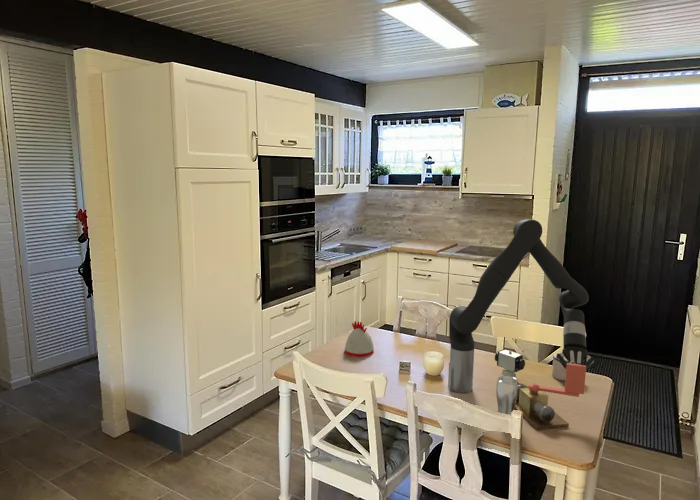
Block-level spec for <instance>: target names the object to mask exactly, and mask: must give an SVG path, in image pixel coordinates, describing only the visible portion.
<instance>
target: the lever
mask: <svg viewBox="0 0 700 500" xmlns="http://www.w3.org/2000/svg"><path fill="white" fill-rule="evenodd" d="M586 372H587V369H586V366H585V365H584V364H581V365H578V364H576V363H575V364H570V363H567V367H566V379H565V381H564V389H563V388H557V387H553V386H545V385H539V384H538V383H537V384H536V383H529V384H528V388H529V390H530V391H533V392H538V391H543V392H544V393H545V392H546V393H551V394H558V395H565V396H569V397H570V396H572V397H576V398H580V395H585V387H586V386H585V384H586V374H587V373H586Z"/></svg>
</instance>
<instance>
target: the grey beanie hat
mask: <svg viewBox="0 0 700 500" xmlns="http://www.w3.org/2000/svg"><path fill="white" fill-rule="evenodd" d="M351 326H352V327H353V328H352V329H353V330H352V331H351V332H350V333H349V335H348V336H347V339H346V342H345V346H344V353H345V354H346V355H347V356H349V357H354V358H365V357H370V356H372V355H373V354H374V352H375V351H374V342H373V340H372V336H371V335H370V334H369V332H368V331H367V329H368V328H367V327H365V324H363V322H362V321H356V320H355V321H354V322H352V323H351Z"/></svg>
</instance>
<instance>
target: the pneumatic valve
mask: <svg viewBox="0 0 700 500" xmlns="http://www.w3.org/2000/svg"><path fill="white" fill-rule="evenodd" d="M494 360H495V362H496V366H497V367H499V368H503V370H502V371H501V376H510V377H513V378H515V379H516V376H517V374H516V373H517V372H520V371H523V370H524V369H525V365H526V361H525V359H524V357H523V355H522V354H521V353H520V354H519V353H517V352H514V351H512V350H507V349H501V350H499V351H496V353H495V354H494Z"/></svg>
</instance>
